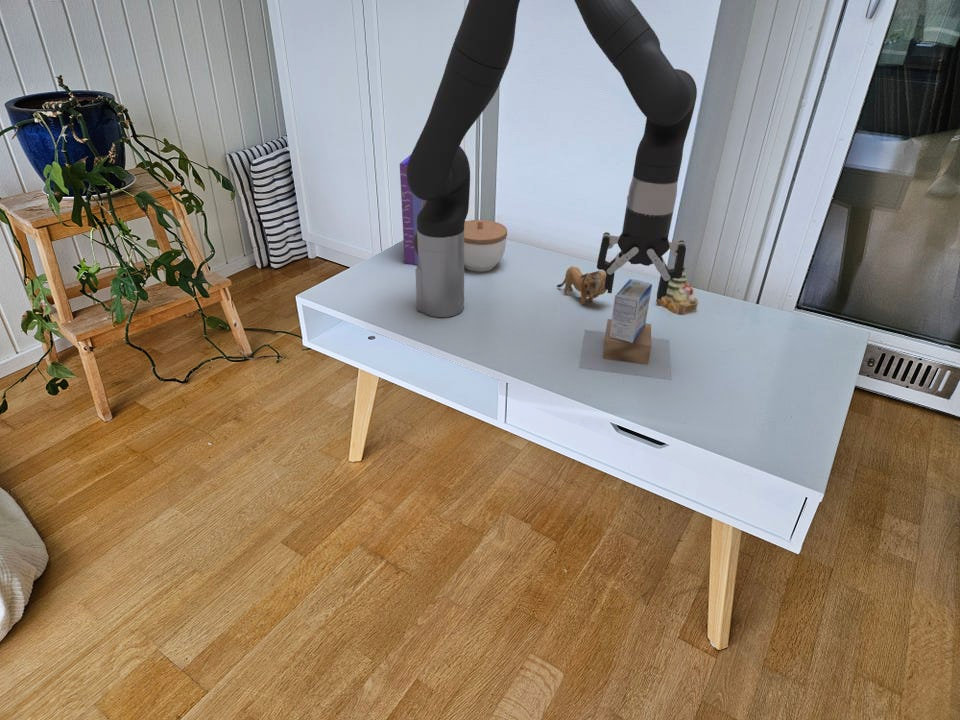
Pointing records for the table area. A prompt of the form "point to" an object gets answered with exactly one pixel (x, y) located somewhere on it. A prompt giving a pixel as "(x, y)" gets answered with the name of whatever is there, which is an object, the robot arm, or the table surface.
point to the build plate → (594, 361)
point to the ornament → (679, 296)
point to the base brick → (628, 347)
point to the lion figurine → (584, 283)
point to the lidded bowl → (483, 244)
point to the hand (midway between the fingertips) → (634, 294)
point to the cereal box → (409, 216)
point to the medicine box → (630, 310)
